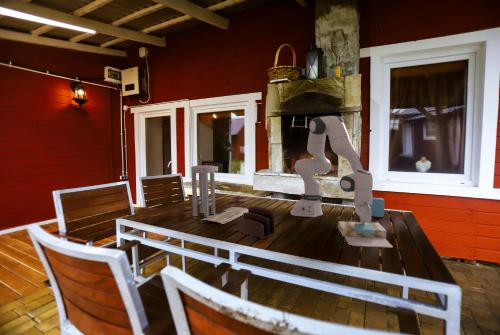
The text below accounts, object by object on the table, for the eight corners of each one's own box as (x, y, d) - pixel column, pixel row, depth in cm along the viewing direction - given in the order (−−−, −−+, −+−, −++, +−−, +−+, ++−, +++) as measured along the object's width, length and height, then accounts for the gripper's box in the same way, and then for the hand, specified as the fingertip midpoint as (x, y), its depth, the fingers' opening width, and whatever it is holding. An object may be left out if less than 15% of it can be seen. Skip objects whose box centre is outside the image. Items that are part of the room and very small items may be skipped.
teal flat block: (356, 232, 139) (356, 229, 139) (354, 227, 145) (354, 223, 145) (375, 233, 138) (375, 230, 137) (371, 227, 144) (372, 224, 143)
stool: (188, 217, 184) (186, 167, 180) (200, 212, 198) (199, 165, 195) (208, 219, 178) (207, 167, 175) (219, 213, 193) (218, 165, 189)
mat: (349, 245, 131) (349, 244, 131) (344, 237, 143) (344, 236, 143) (392, 247, 128) (392, 246, 128) (384, 238, 140) (384, 238, 140)
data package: (383, 215, 182) (384, 198, 181) (383, 217, 178) (384, 199, 177) (364, 213, 187) (365, 196, 186) (364, 215, 183) (364, 198, 182)
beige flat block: (342, 236, 144) (342, 229, 144) (338, 227, 158) (338, 221, 158) (386, 238, 140) (386, 230, 140) (378, 229, 154) (378, 222, 154)
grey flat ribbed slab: (230, 209, 206) (230, 206, 205) (252, 212, 196) (252, 209, 196) (200, 223, 173) (199, 218, 173) (225, 227, 164) (224, 222, 164)
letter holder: (249, 227, 162) (249, 204, 161) (275, 235, 148) (275, 210, 147) (237, 231, 155) (236, 207, 153) (263, 240, 141) (263, 213, 140)
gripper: (375, 204, 134) (374, 231, 135) (364, 196, 154) (364, 220, 155) (361, 204, 135) (361, 231, 136) (353, 196, 155) (352, 219, 156)
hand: (362, 225), depth 146 cm, fingers closed
